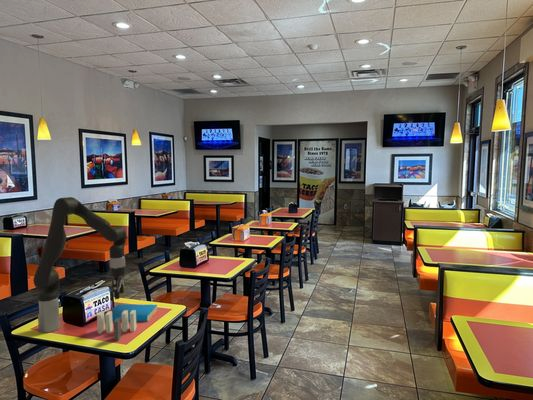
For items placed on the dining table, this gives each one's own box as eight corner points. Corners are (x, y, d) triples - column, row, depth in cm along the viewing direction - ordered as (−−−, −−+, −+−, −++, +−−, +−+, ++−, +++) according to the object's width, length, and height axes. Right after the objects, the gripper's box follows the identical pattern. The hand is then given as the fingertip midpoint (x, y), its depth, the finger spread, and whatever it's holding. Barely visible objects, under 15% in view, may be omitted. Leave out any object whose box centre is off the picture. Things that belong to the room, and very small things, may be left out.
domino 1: (97, 333, 198) (96, 315, 197) (101, 329, 203) (100, 311, 202) (101, 333, 198) (100, 315, 197) (104, 329, 203) (104, 311, 202)
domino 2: (106, 332, 198) (105, 314, 197) (109, 328, 203) (108, 311, 202) (109, 332, 199) (109, 314, 198) (112, 328, 203) (112, 311, 203)
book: (117, 304, 230) (157, 303, 229) (117, 311, 230) (157, 310, 229) (104, 315, 213) (147, 315, 212) (104, 322, 213) (147, 322, 212)
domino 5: (130, 331, 200) (129, 313, 199) (132, 327, 204) (131, 310, 204) (134, 331, 200) (133, 313, 199) (136, 327, 205) (135, 309, 204)
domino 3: (114, 341, 189) (113, 322, 188) (117, 336, 194) (116, 318, 193) (118, 340, 189) (117, 321, 188) (121, 336, 194) (120, 317, 193)
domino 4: (122, 332, 199) (121, 314, 198) (124, 328, 204) (124, 310, 203) (126, 331, 199) (125, 313, 198) (128, 327, 204) (127, 310, 203)
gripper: (114, 262, 198) (115, 291, 199) (105, 269, 184) (107, 301, 185) (128, 261, 199) (130, 291, 200) (121, 268, 185) (123, 300, 186)
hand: (119, 296), depth 193 cm, fingers open, 8 cm apart
